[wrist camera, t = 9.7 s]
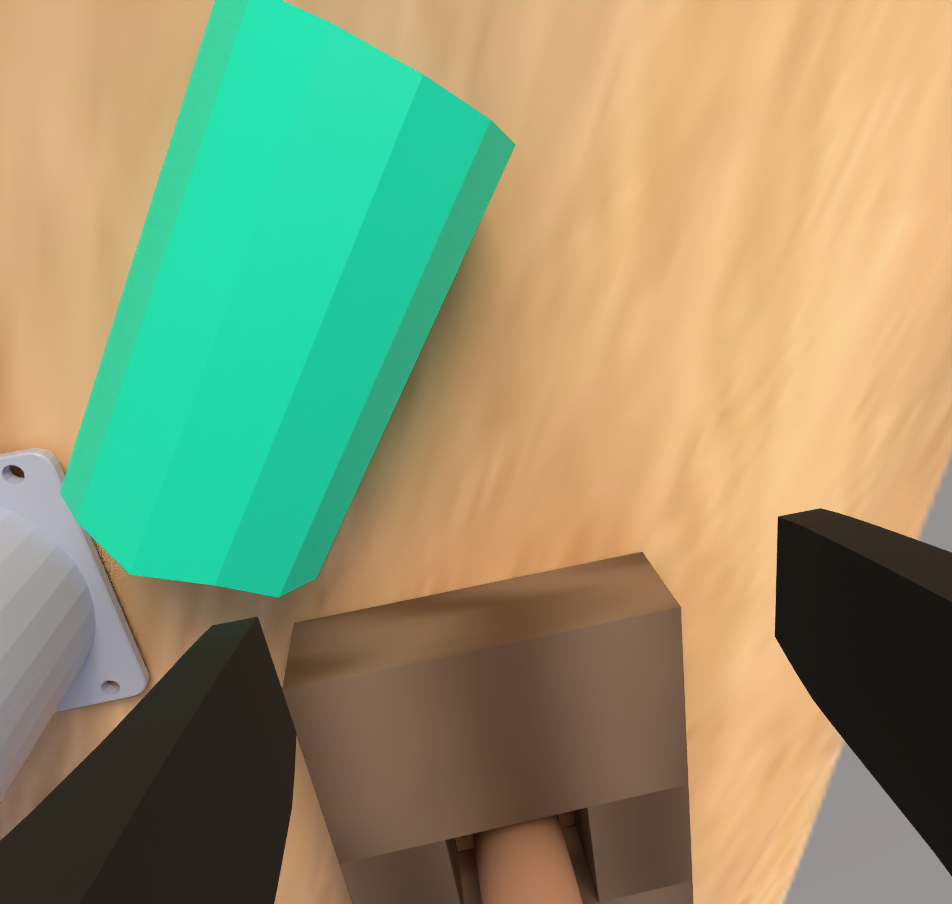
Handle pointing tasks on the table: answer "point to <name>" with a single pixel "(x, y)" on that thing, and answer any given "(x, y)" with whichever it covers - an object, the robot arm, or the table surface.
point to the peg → (526, 864)
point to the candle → (275, 300)
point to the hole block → (501, 732)
